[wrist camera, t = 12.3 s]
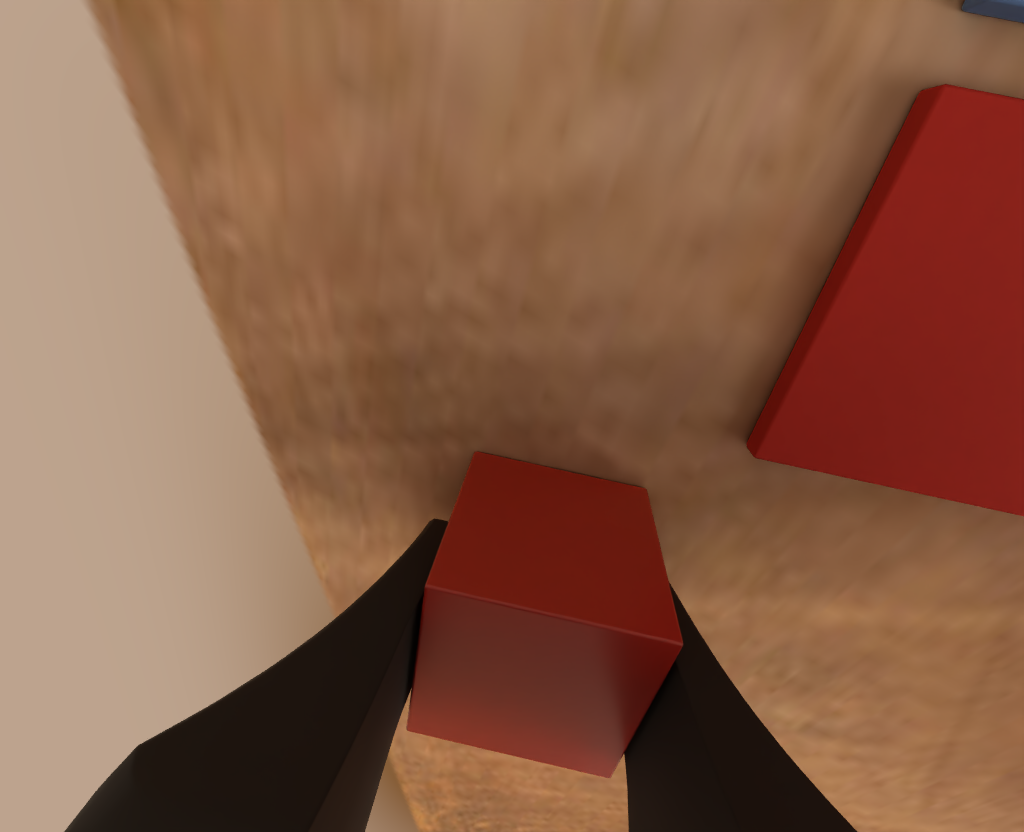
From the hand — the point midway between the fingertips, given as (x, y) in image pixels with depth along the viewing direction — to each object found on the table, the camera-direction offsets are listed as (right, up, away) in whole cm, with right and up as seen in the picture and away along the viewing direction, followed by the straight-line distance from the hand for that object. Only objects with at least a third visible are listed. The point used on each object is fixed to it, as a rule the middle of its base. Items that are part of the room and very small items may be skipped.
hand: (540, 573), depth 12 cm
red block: (0, +1, +1) cm, 1 cm away
